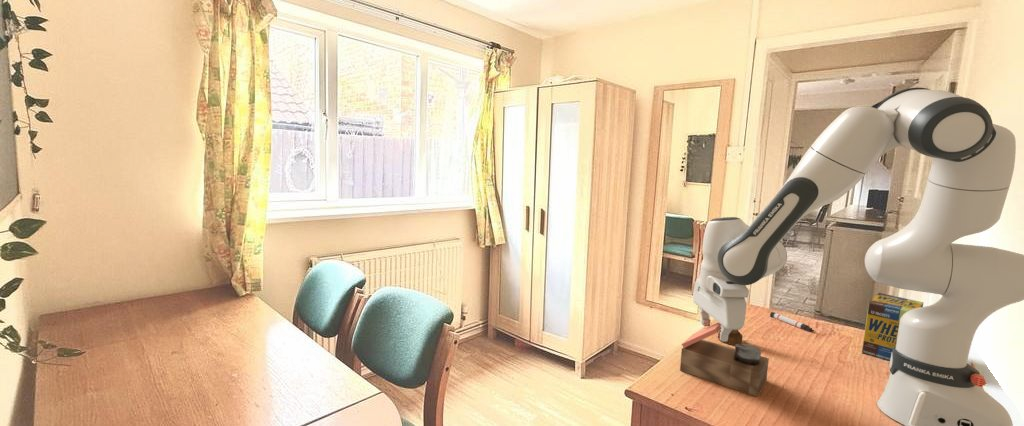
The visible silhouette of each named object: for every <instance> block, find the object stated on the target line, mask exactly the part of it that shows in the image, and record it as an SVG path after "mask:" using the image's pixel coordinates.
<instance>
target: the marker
mask: <svg viewBox="0 0 1024 426" xmlns="http://www.w3.org/2000/svg"><path fill="white" fill-rule="evenodd" d="M769 313H770V314H769V316H770V317H771V318H774V319H776V320H778V321H780V322H783V323H784V324H789V325H791V326H793V327H796V328H797V329H800V330H802V331H807V332H814V331H815V330H814V329H813V328H812V327H810V326H809V325H808V324H805V323H802V322H800V321H798V320H795V319H792V318H789V317H787V316H784V315H783V314H780V313H777V312H774V311H771V312H769Z"/></svg>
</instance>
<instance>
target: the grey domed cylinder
mask: <svg viewBox="0 0 1024 426" xmlns="http://www.w3.org/2000/svg"><path fill="white" fill-rule="evenodd" d="M734 349H735V353H734V358H735V359H736V360H737V361H739V362H741V363H744V364H747V365H752V366H753V365H758V364H760V356H762V355H761V353H762V350H761V349H760V348H759V347H758V346H755V345H753V344H749V343H743V342H742V343H739V344H736V345H734Z"/></svg>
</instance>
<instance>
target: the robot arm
mask: <svg viewBox="0 0 1024 426" xmlns="http://www.w3.org/2000/svg"><path fill="white" fill-rule="evenodd" d="M1016 142H1017V141H1016V137H1015V134H1014V133H1013V132H1012V131H1011V130H1010V129H1008V128H1007V127H1005V126H1001V125H999V124H994V123H993V119H992V117H991V114H990V113H989V111H988V110H987V108H985V107H984V106H983V105H982V104H980V103H979V102H977V100H974V99H971V98H968V97H964V96H961V95H959V94H957V93H953V92H950V91H947V90H937V89H930V88H925V87H909V88H908V87H907V88H905V89H901V90H897V91H895V92H893V93H891V94H889V95H888V96H887V97H886V96H885V98H883V99H882V100H881V101H879V102H877V103H875V104H873V105H872V106H865V105H856V106H853V107H852V106H851V107H849V108H848V109H846V110H844V111H842V113H841V114H839V115H838V116H837V117H836V118H835V119H834V120H833V121H832V122H831V123H830V124H829V125H828V126H827V127H826V128H825V129H824V130H823V131H822V132H821V133H820V135H818V136H817V138H816V139H815V140H814V142H813V143H812V144H811V145H810V146H809V148H808V149H807V151H805V153H804V154H803V156H802V158H801V159H800V160H799V162H798V163H797V164H796V166H795V167H794V169H793V171H792V172H791V174H790V175H789V177H788V178H787V180H786V181H785V182H784V184H783V185H782V187H781V188H780V189H779V191H778V192H777V193H776V195H775V196H774V197H773V198H772V199H771V200H770V202H769V203H768V204H767V205H766V206H765V208H763V210H762V211H761V212H760V214H758V215H757V217H756V218H755V219H754V221H753V222H752V223H751V224H750V225H748V224H747V223H746V222H744V220H743V219H742V218H740V217H735V216H727V217H725V216H724V217H716V218H713V219H710V220H709V221H707V223H706V226H705V229H704V234H703V240H702V248H701V249H702V250H701V251H702V262H701V263H700V270H699V274H698V278H696V279H695V282H694V286H693V293H692V300H693V301H692V302H693V303H694V304H695V305H696V306H697V307H699V312H700V313H699V314H700V318H701V319H700V324H701V325H702V326H704V327H709V326H711V319H710V317H711V318H713V319H714V320H715V321H716V322H717V323H718V322H719V323H720V324H721V328H722V329H721V332H718V333H717V335H718V336H717V338H718V340H719V341H720V340H721V341H720V342H722V343H724V342H727V341H728V335H729V334H730V332H731V331H732V330H738V331H740V330H742V329H743V327H744V326H745V321H746V314H747V313H746V312H747V301H746V299H747V298H748V297H749V296H750V295H749V293H750V290H749V288H748V286H749V285H753V284H755V283H757V282H759V281H761V280H762V279H764V278H767V277H769V276H771V275H773V274H775V273H776V272H778V271H781V270H782V269H783V268H784V266H785V265H786V264H787V260H788V253H787V249H786V247H785V245H784V244H783V242H781V241H782V240H783V239H784V238H785V237H786V236H787V234H788V233H789V232H790V231H791V230H792V229H793V227H795V225H796V224H797V223H798V222H799V221H801V220H802V219H803V218H804V217H806V216H807V215H808V214H810V213H812V212H813V211H815V210H818V209H820V208H821V207H824V206H827V205H828V204H831V203H833V202H835V201H838V200H839V199H841V198H842V197H843V196H844V195H846V194H847V193H848V192H849V191H851V190H852V189H853V188H854V187H855V186H856V185H857V184H858V183H859V182H860V181H861V180H862V179H863V178H864V177H865V175H866V174H867V173H868V172H869V171H870V169H871V168H872V167H873V166H874V164H875V163H876V162H877V160H878V159H880V158H881V157H882V156H884V155H885V154H886V153H888V152H890V151H891V150H894V149H896V148H899V147H900V146H901V147H903V148H907V149H910V150H913V151H915V152H918V153H919V154H921V155H924V156H926V157H930V158H931V167H930V169H929V173H928V177H927V182H926V185H925V190H924V193H923V196H922V200H921V202H920V206H919V208H918V210H917V212H916V214H914V217H913V218H912V220H911V219H910V222H909V223H908V224H906V225H905V226H904V227H902V228H901V229H900V230H898V231H897V232H895V233H893V234H891V235H889V236H886V237H884V238H882V239H878V240H877V241H875V242H874V243H873V244H871V246H870V247H868V249H867V251H866V252H865V255H864V267H865V269H866V272H867V273H868V275H869V277H870V278H871V279H872V280H873V281H874V282H877V283H880V284H883V285H887V286H889V287H894V288H897V289H901V290H907V291H913V292H914V291H915V292H921V293H927V294H934V295H941V298H939V299H938V300H937V301H936V302H935V303H933V304H930V305H927V306H923V307H920V308H915V309H912V310H910V311H907V312H906V313H905V314H903V315H902V317H901V318H900V323H899V329H898V336H897V342H896V346H894V347H893V351H892V353H891V359H890V361H889V372H890V374H889V377H888V379H887V382H886V385H885V388H884V390H883V392H882V394H881V396H880V397H879V399H878V401H876V402H877V404H876V405H877V407H878V408H879V410H880V411H882V413H883V414H884V415H886V416H888V418H891V419H893V420H894V421H896V422H898V423H900V424H901V425H903V426H1014V425H1013V424H1014V423H1013V420H1012V417H1011V415H1010V414H1009V411H1008V410H1007V409H1006V408H1005V407H1004V406H1003V405H1002V404H1001V403H1000V402H999V401H998V400H997V399H995V398H994V397H993V396H992V395H990V394H989V393H988V392H986V391H985V390H984V389H983V388H982V387H985V386H986V384H987V382H986V379H985V376H983V375H981V373H980V371H979V370H977V369H976V367H975V365H973V364H969V363H968V359H969V354H970V351H971V347H972V343H973V340H974V336H975V334H976V331H977V330H978V328H979V327H980V325H981V324H982V323H983V322H984V321H985V320H987V318H988V317H989V316H991V315H992V314H994V313H996V312H997V311H999V310H1001V309H1002V308H1005V307H1007V306H1010V305H1013V304H1016V303H1019V302H1022V301H1024V254H1022V253H1018V252H1014V251H1011V250H1007V249H1003V248H1002V249H1001V248H999V247H998V248H997V247H993V246H983V245H974V244H973V245H972V244H964V243H954V242H956V241H957V240H958V239H961V238H964V237H967V236H972V235H975V234H979V233H982V232H985V231H987V230H989V229H991V228H992V227H993V226H995V225H997V223H998V222H999V220H1000V219H1001V216H1002V213H1003V209H1004V206H1005V204H1006V203H1005V202H1006V199H1007V196H1008V193H1009V189H1010V186H1011V183H1012V179H1013V174H1014V170H1015V163H1016V150H1017V148H1016ZM745 298H746V299H745Z"/></svg>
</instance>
